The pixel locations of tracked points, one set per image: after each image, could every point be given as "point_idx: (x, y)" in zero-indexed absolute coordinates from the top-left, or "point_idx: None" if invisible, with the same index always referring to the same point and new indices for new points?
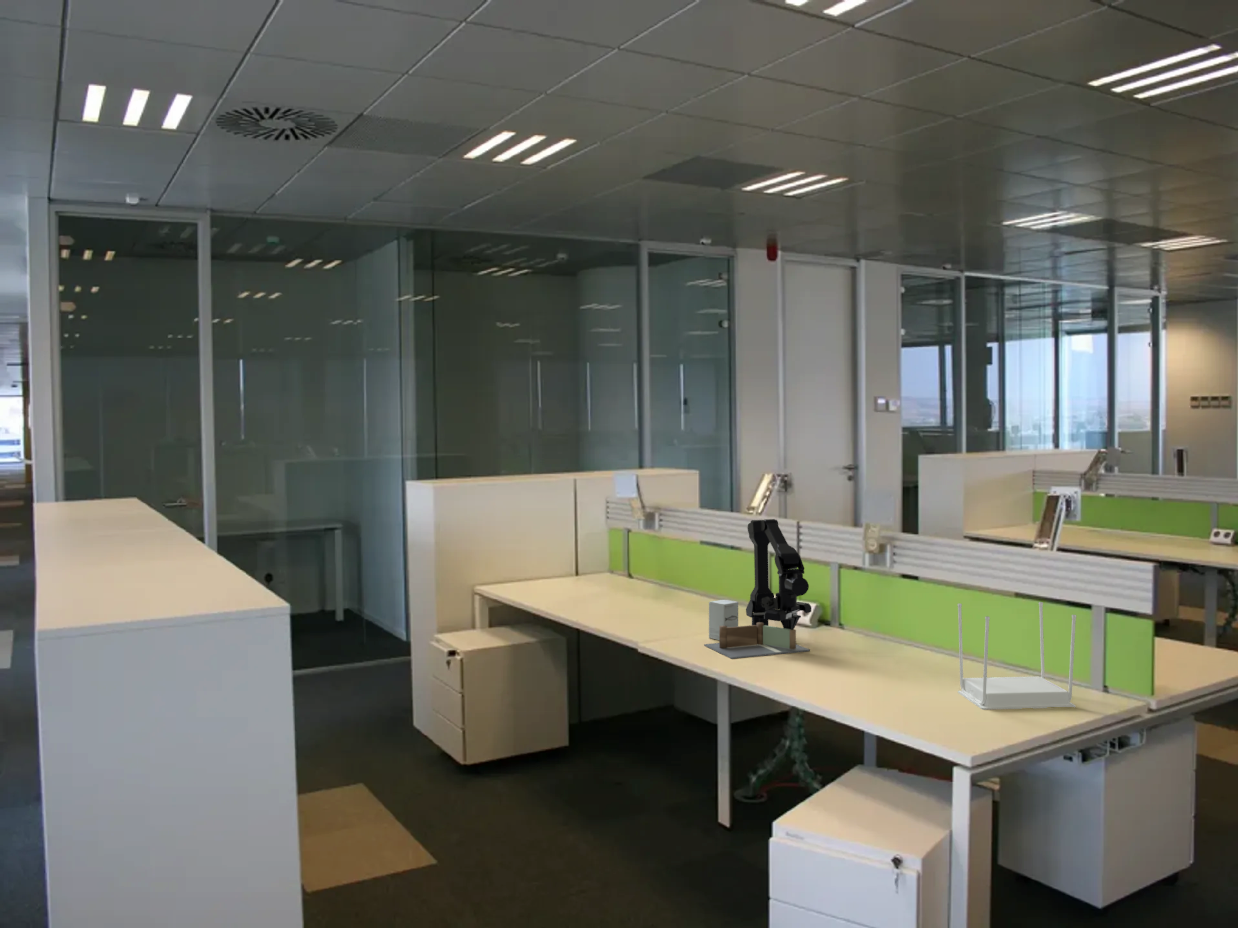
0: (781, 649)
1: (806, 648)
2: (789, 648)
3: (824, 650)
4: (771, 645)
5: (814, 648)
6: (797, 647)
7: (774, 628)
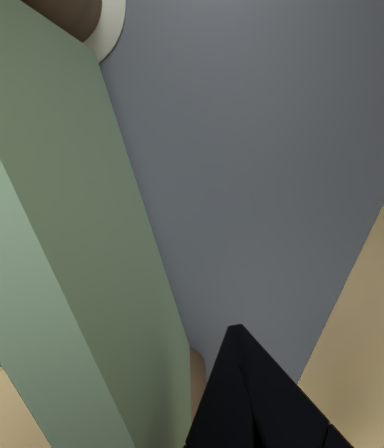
0: None
1: (294, 379)
2: (190, 317)
3: (367, 429)
4: (132, 138)
5: (373, 367)
6: (268, 327)
7: (13, 347)
